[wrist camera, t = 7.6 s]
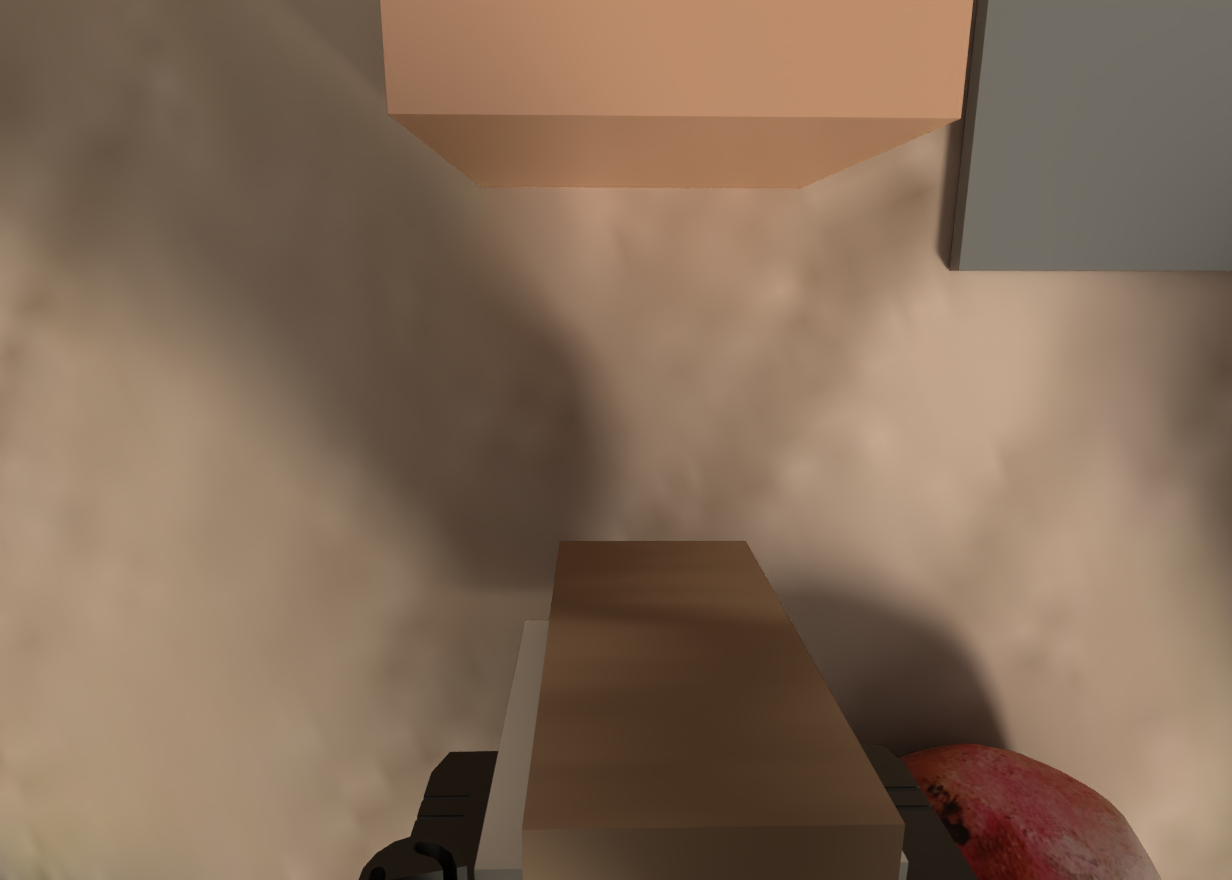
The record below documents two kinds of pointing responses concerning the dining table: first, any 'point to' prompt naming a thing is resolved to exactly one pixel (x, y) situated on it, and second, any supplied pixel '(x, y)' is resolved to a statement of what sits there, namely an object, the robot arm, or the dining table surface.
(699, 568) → the push block
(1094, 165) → the coaster
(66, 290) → the dining table surface
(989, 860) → the fruit
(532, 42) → the tile
